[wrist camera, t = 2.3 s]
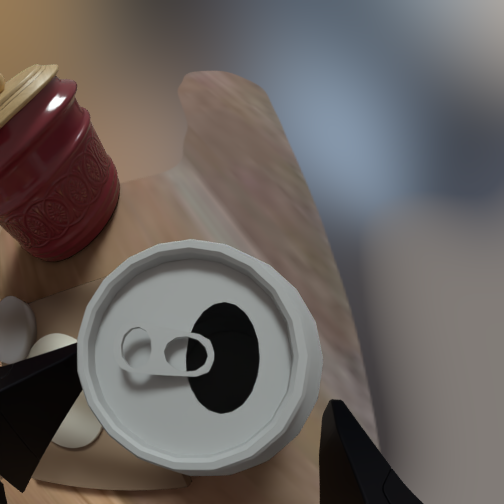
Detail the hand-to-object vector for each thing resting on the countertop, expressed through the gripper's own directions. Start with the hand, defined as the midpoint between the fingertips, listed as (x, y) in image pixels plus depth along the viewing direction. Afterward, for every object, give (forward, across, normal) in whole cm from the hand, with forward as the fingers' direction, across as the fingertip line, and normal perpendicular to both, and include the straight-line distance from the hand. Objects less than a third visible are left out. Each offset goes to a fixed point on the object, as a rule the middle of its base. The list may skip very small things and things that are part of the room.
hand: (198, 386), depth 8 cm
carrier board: (+3, +12, +9) cm, 15 cm away
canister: (+14, +20, -2) cm, 25 cm away
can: (+7, 0, +6) cm, 9 cm away
